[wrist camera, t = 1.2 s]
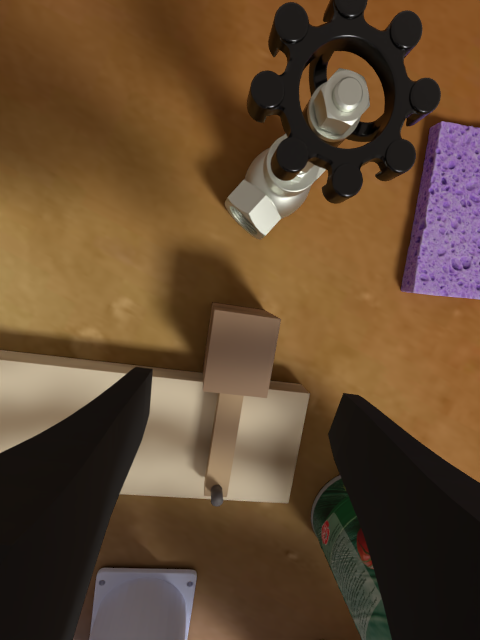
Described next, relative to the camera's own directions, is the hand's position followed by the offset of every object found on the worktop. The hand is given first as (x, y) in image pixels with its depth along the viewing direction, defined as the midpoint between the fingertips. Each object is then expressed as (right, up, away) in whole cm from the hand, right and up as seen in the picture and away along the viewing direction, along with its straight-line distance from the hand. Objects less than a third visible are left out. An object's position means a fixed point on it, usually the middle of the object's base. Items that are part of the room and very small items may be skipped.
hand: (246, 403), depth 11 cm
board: (-9, -5, +12) cm, 15 cm away
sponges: (+17, +11, +13) cm, 24 cm away
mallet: (-1, -2, +12) cm, 12 cm away
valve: (+2, +12, +11) cm, 16 cm away
